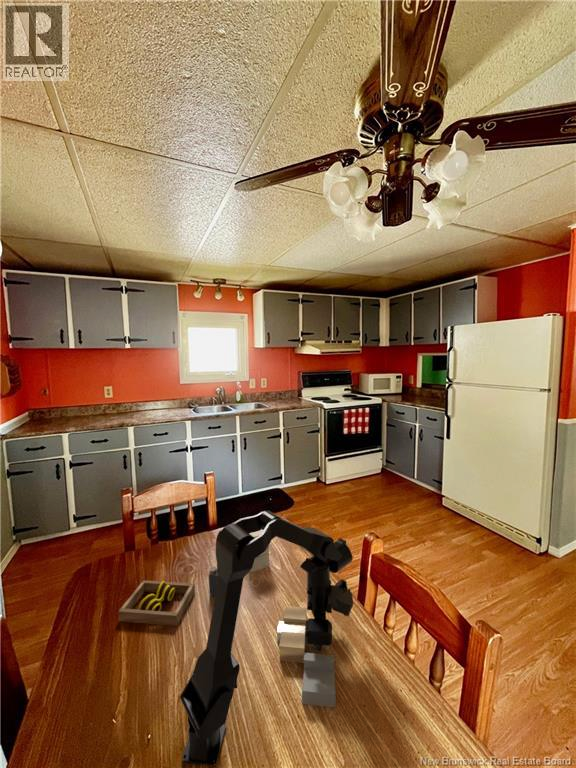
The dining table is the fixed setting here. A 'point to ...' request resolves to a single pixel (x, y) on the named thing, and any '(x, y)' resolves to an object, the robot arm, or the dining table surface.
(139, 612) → the valet tray
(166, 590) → the yellow looped piece
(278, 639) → the bar
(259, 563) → the supplement box
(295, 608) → the wooden blocks
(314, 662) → the v cradle
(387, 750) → the dining table surface
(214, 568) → the vaping device
